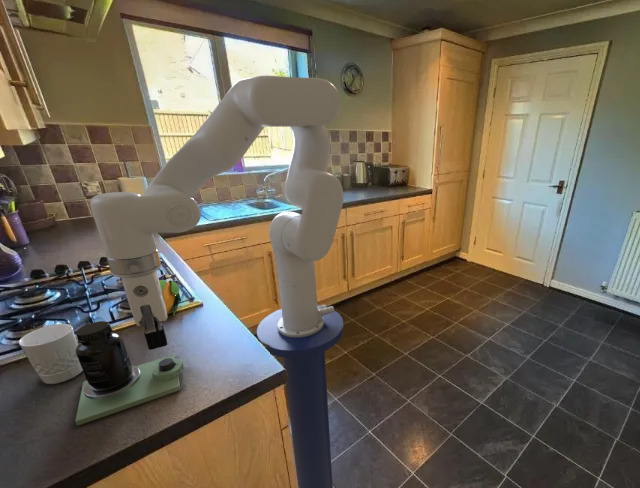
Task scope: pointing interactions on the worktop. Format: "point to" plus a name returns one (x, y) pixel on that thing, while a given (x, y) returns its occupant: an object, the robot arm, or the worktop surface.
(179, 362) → the scale
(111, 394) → the scale pan
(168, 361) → the tare button
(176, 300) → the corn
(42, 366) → the white cup
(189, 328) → the worktop surface
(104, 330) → the supplement bottle
